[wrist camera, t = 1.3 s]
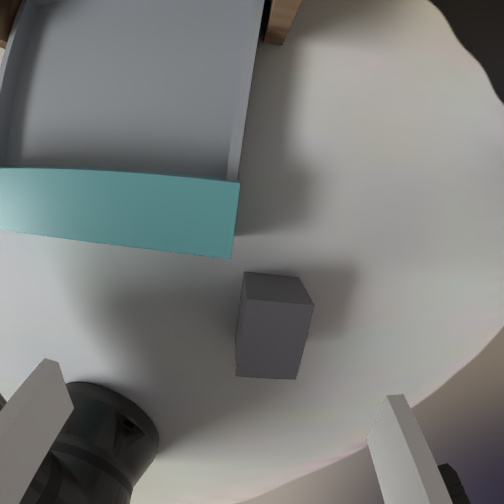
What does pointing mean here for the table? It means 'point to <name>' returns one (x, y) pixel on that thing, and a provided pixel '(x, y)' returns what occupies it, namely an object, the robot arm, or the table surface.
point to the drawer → (127, 121)
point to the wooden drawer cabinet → (278, 24)
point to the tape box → (271, 326)
